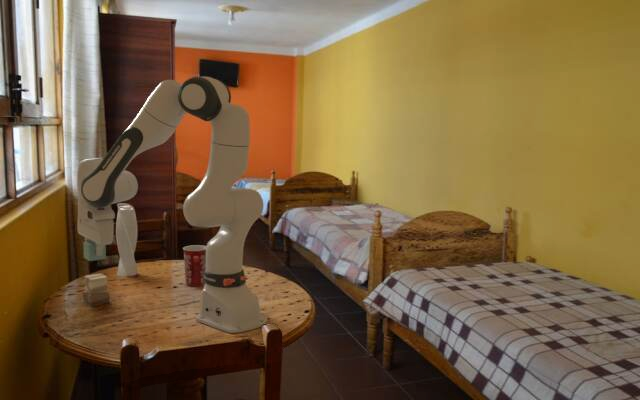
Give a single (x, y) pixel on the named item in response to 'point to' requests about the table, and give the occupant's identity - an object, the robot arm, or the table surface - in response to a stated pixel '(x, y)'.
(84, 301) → the mat
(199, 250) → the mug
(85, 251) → the teal block
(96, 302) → the walnut base
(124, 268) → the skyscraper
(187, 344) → the table surface
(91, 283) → the maple block
